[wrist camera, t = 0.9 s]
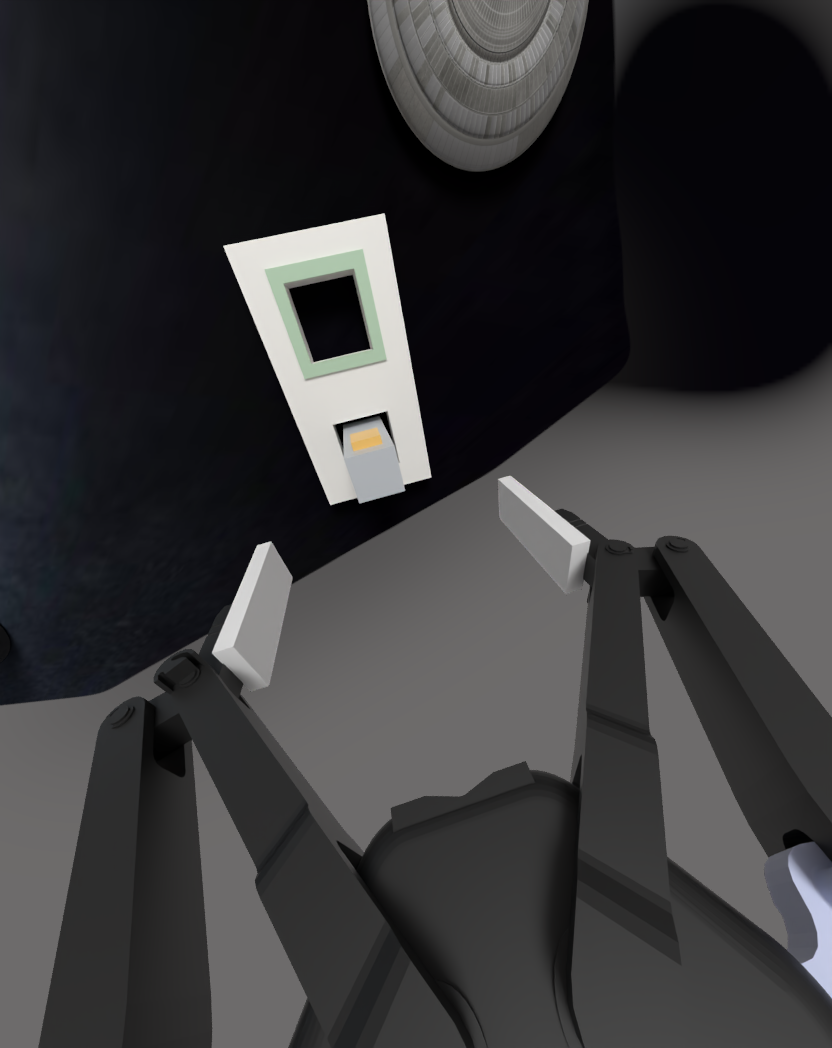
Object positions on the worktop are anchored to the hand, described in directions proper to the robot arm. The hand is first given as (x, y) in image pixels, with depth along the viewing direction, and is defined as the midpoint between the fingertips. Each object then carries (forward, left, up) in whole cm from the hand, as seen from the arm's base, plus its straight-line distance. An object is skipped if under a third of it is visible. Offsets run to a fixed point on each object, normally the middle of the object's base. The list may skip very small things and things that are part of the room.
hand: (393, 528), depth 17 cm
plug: (0, 0, -19) cm, 19 cm away
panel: (0, +6, -19) cm, 20 cm away
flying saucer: (+15, +26, -20) cm, 35 cm away
